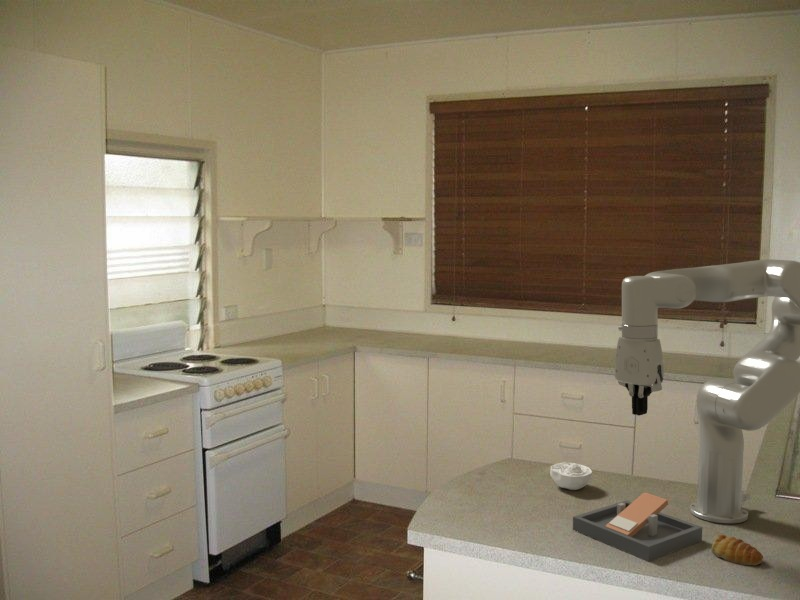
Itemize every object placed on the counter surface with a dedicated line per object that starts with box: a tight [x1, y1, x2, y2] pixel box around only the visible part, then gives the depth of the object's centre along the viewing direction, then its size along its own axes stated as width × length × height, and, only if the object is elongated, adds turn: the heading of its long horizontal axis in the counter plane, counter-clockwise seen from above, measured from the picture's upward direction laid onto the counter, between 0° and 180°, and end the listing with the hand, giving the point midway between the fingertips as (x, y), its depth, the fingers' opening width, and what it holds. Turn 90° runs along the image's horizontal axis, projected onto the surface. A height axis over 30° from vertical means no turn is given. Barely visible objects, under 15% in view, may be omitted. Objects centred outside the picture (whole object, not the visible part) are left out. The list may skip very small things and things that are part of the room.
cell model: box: [549, 461, 593, 491], centre depth 201 cm, size 10×12×7 cm
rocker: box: [605, 491, 669, 537], centre depth 169 cm, size 14×7×2 cm, turn 125°
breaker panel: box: [572, 500, 703, 562], centre depth 169 cm, size 18×20×6 cm
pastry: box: [710, 533, 764, 566], centre depth 158 cm, size 9×7×4 cm
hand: (639, 413), depth 174 cm, fingers closed
